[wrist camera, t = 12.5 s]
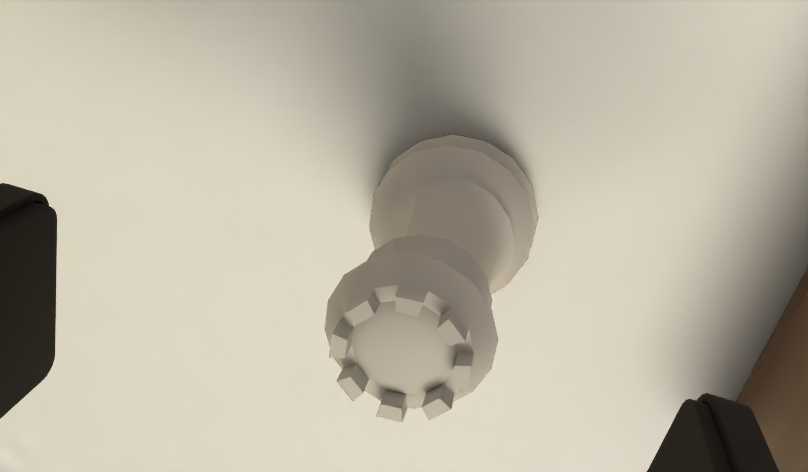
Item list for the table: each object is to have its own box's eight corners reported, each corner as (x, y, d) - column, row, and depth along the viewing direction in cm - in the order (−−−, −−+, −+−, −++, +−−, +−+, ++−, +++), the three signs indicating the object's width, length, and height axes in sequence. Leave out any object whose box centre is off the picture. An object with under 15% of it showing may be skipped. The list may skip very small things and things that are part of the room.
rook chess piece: (352, 166, 20) (232, 291, 12) (500, 104, 18) (466, 203, 11) (418, 301, 21) (345, 489, 13) (563, 253, 19) (569, 433, 12)
